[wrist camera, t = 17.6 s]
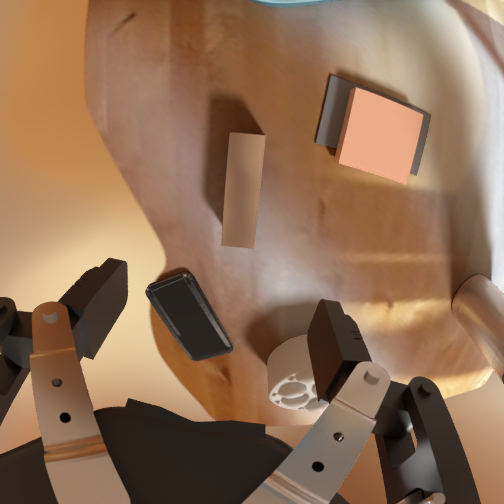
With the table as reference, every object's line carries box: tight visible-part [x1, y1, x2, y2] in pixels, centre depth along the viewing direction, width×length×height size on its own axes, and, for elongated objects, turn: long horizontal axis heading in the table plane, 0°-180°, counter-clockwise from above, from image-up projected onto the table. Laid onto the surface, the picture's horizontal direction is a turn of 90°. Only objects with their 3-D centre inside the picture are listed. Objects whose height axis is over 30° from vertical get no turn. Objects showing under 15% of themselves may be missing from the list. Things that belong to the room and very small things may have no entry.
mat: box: [315, 75, 431, 176], centre depth 30 cm, size 14×8×1 cm, turn 79°
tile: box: [334, 87, 423, 185], centre depth 29 cm, size 9×2×9 cm
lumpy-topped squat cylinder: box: [267, 333, 329, 412], centre depth 41 cm, size 10×13×9 cm
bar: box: [221, 132, 266, 249], centre depth 31 cm, size 4×12×5 cm, turn 175°
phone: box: [145, 272, 234, 361], centre depth 42 cm, size 8×1×15 cm
